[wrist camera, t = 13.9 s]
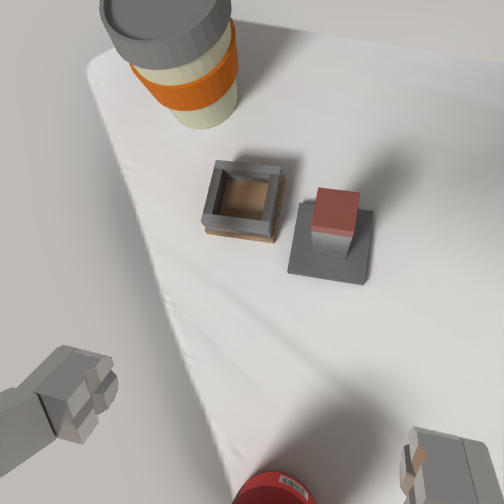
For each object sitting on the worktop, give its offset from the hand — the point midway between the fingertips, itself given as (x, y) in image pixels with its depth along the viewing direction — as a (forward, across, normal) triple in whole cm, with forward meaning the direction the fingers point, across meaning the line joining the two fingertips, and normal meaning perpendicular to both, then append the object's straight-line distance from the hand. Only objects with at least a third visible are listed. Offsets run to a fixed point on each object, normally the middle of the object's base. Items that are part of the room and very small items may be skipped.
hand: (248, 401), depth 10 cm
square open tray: (+32, +9, +9) cm, 34 cm away
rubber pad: (+30, -1, +11) cm, 32 cm away
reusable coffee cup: (+42, +18, -1) cm, 46 cm away
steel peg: (+29, -1, +10) cm, 31 cm away
